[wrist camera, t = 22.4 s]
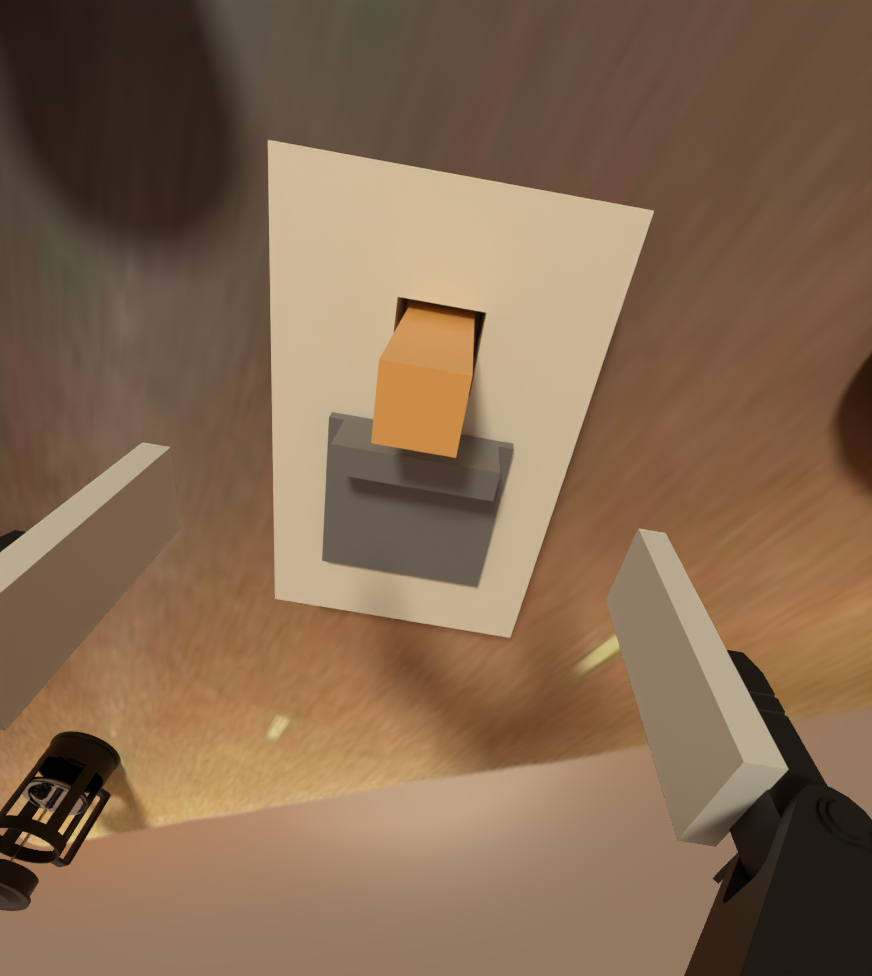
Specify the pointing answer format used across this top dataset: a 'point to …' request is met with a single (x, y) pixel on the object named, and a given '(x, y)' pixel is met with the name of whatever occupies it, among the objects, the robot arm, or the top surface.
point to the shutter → (410, 503)
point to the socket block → (496, 354)
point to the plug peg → (425, 380)
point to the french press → (53, 809)
